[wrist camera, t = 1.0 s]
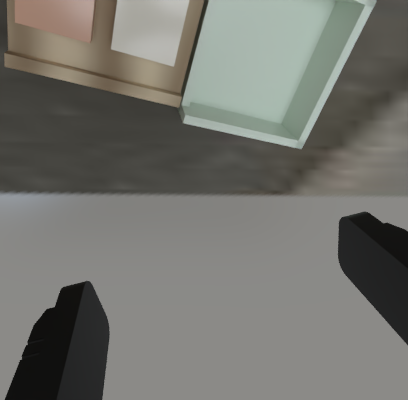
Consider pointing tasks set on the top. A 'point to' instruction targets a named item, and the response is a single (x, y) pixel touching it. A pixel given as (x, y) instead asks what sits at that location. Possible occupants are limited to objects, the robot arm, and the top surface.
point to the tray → (268, 65)
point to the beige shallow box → (101, 57)
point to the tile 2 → (149, 28)
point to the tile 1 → (58, 17)
